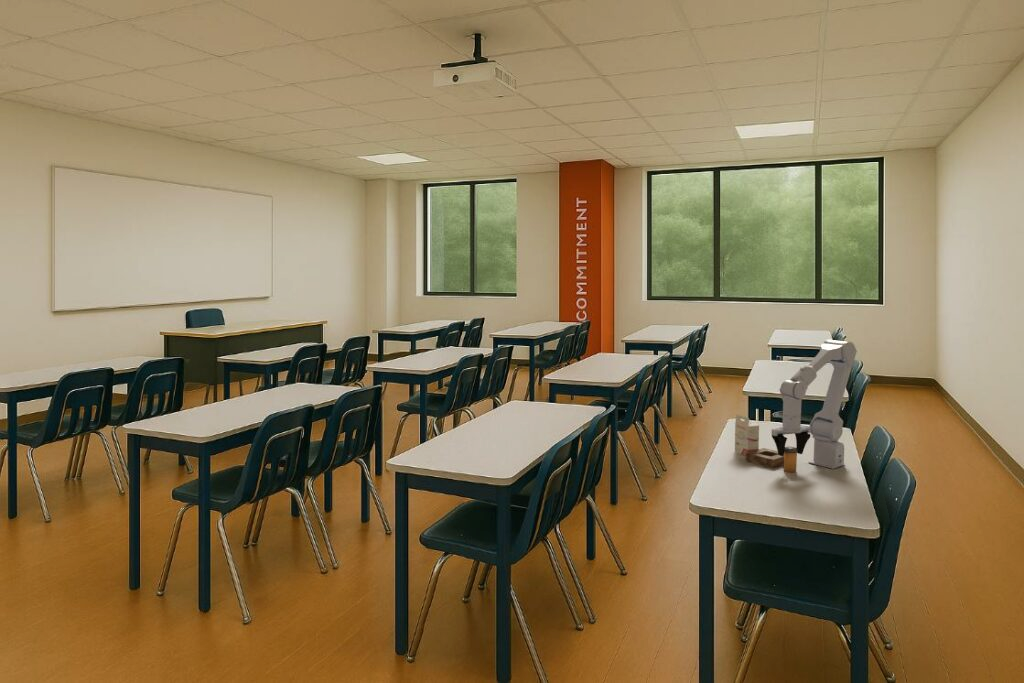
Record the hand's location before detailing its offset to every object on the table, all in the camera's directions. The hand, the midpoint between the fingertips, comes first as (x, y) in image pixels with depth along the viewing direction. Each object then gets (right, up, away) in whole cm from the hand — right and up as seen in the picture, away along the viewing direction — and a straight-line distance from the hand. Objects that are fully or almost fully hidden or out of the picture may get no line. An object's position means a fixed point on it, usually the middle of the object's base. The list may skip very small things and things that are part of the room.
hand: (790, 454), depth 244 cm
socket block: (-3, -5, +12) cm, 13 cm away
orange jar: (0, -6, +1) cm, 6 cm away
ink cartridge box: (-8, -4, +22) cm, 24 cm away
